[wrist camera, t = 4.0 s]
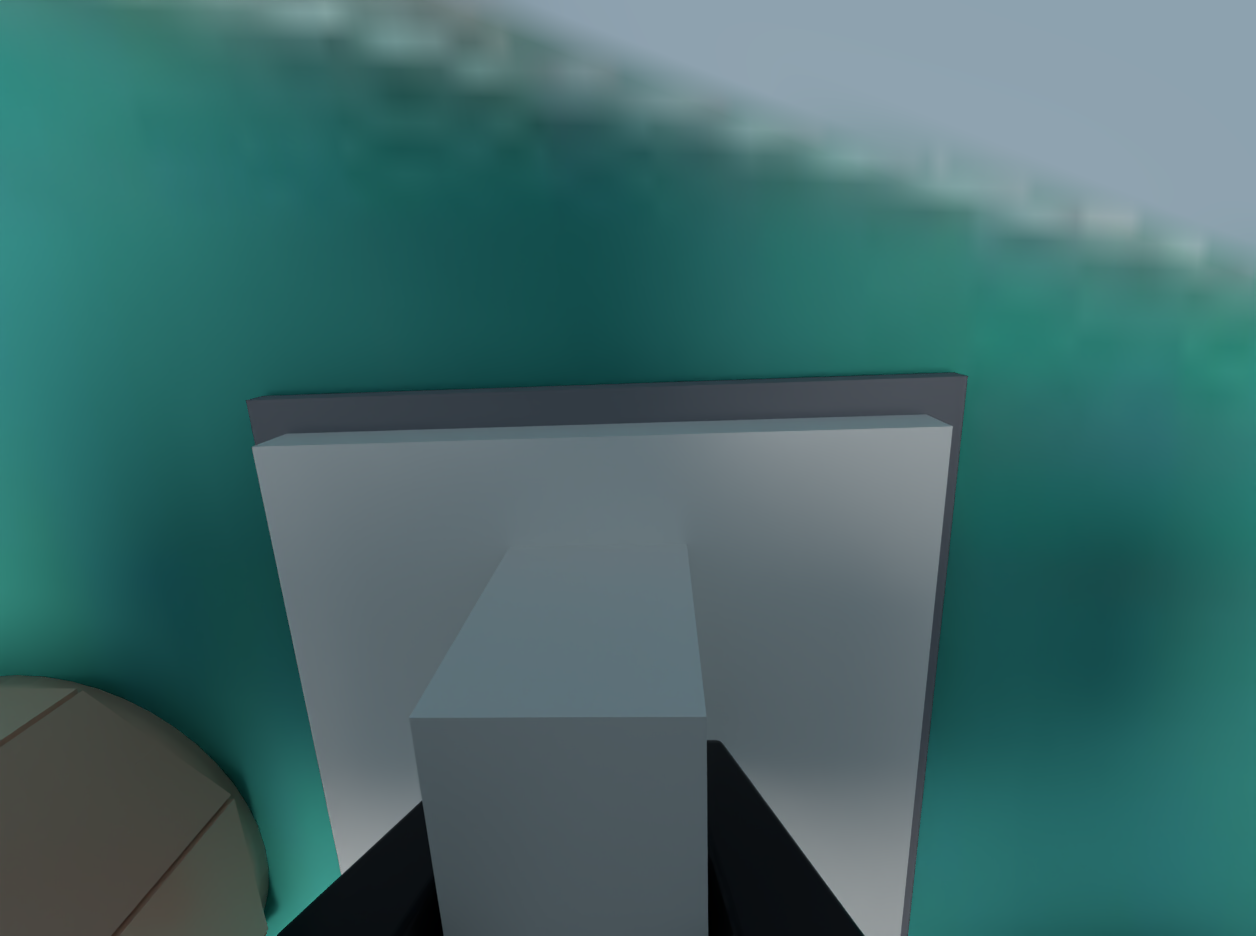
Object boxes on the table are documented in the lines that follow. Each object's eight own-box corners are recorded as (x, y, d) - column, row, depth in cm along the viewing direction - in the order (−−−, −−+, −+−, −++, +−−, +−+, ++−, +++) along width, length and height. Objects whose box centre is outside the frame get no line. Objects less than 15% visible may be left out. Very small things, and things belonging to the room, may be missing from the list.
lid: (926, 414, 8) (1182, 529, 4) (880, 920, 11) (1016, 1307, 7) (286, 433, 9) (-33, 553, 5) (379, 913, 11) (219, 1267, 7)
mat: (953, 372, 9) (968, 375, 8) (898, 920, 11) (907, 942, 11) (262, 396, 9) (245, 400, 9) (366, 912, 12) (357, 933, 12)
